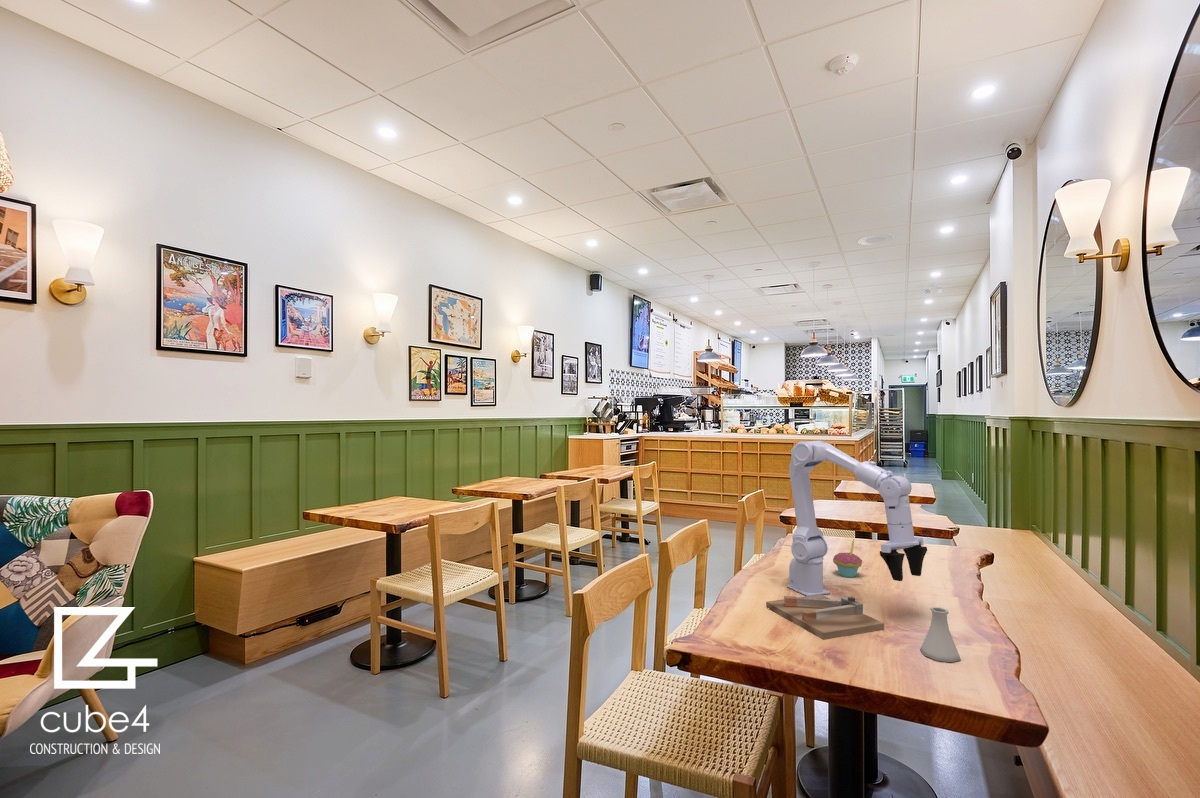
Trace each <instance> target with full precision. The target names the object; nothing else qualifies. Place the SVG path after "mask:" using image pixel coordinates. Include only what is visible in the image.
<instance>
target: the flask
mask: <svg viewBox="0 0 1200 798" xmlns="http://www.w3.org/2000/svg"><path fill="white" fill-rule="evenodd" d="M930 612H931V621H930V626H929V627H928V630H927V633H926V636H925V638H924V639H923V642H922V644H921V646H920V648H919V650H920V652H921V653H922V654H923V656H925V657H927V658H930V659H931V660H935V661H937V662H946V663H947V662H948V663H954V662H957V661H961V660H962V658H961V656H960V653H959V651H958V649H957V646H956V645H955V644H956V643H955V641H954V639H953V636H952V634H951V631H950V627H949V624H948V615H949V613H950V612H949V610H948V609H947V608H944V607H938V606H932V607H930Z"/></svg>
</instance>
